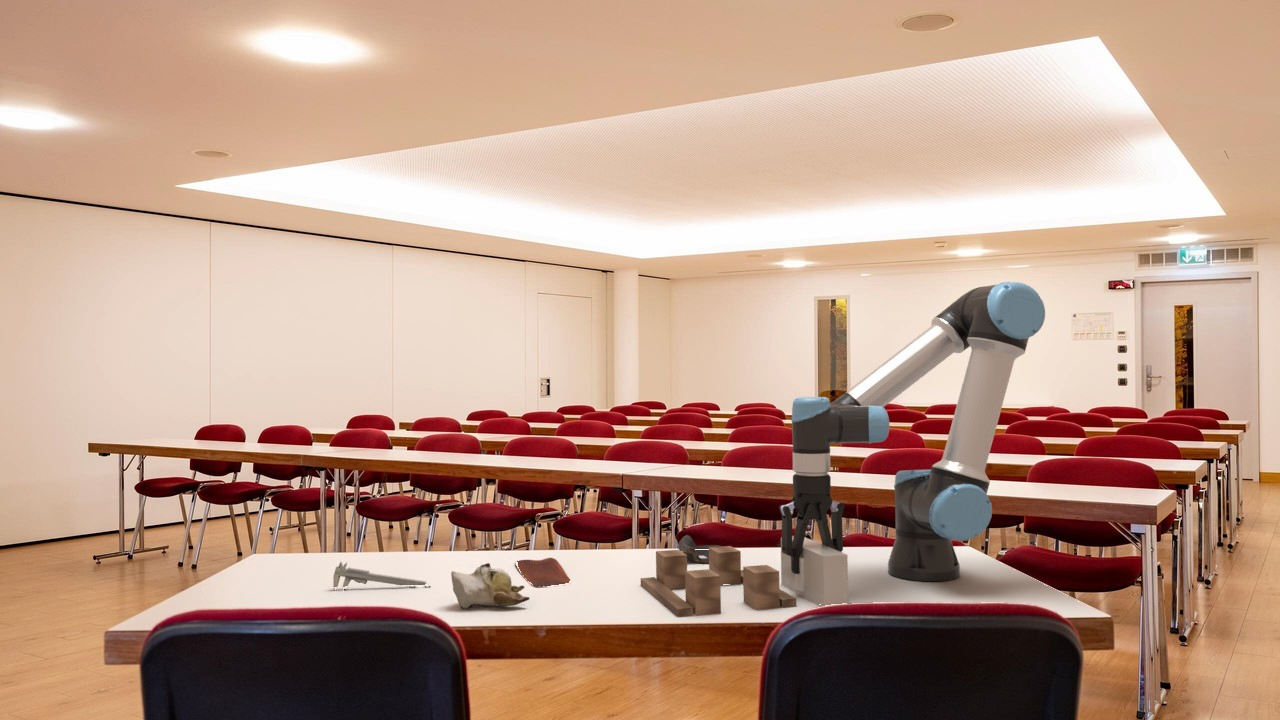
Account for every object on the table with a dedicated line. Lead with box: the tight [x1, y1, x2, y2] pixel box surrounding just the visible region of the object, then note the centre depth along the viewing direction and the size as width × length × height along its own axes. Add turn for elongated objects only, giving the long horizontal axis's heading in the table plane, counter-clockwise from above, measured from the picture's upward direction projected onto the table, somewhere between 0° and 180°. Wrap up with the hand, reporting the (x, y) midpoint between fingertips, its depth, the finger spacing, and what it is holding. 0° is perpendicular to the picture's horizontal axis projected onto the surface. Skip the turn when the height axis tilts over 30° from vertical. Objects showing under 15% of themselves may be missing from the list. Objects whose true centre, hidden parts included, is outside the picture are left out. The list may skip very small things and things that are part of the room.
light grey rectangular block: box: [780, 536, 849, 607], centre depth 187 cm, size 5×20×10 cm, turn 15°
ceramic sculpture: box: [450, 562, 530, 609], centre depth 182 cm, size 11×9×15 cm
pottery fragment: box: [677, 534, 723, 564], centre depth 224 cm, size 15×12×4 cm
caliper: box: [332, 561, 427, 588], centre depth 197 cm, size 20×1×6 cm, turn 95°
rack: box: [640, 545, 797, 618], centre depth 187 cm, size 24×26×7 cm
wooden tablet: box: [516, 557, 571, 588], centre depth 209 cm, size 27×10×2 cm, turn 15°
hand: (812, 588), depth 187 cm, fingers closed on light grey rectangular block, 5 cm apart
